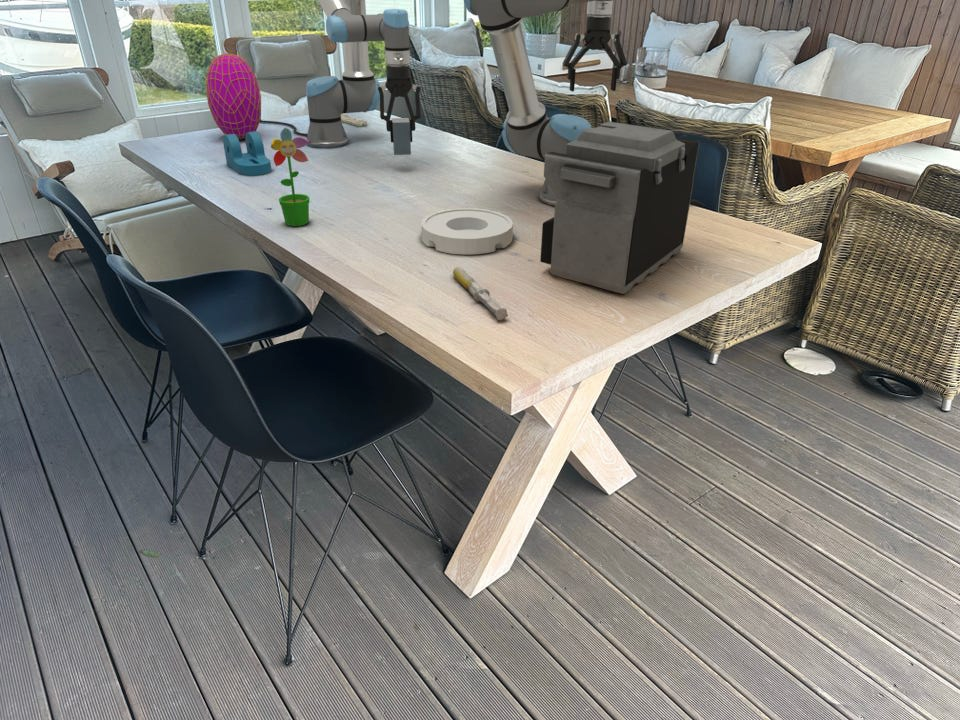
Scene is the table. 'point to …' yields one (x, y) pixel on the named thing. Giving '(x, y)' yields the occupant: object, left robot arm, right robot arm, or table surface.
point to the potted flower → (291, 178)
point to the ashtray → (467, 231)
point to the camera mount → (246, 154)
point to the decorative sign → (352, 120)
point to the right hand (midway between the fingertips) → (592, 90)
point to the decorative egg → (233, 95)
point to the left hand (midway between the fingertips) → (401, 141)
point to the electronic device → (618, 204)
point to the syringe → (479, 293)
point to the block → (401, 136)
